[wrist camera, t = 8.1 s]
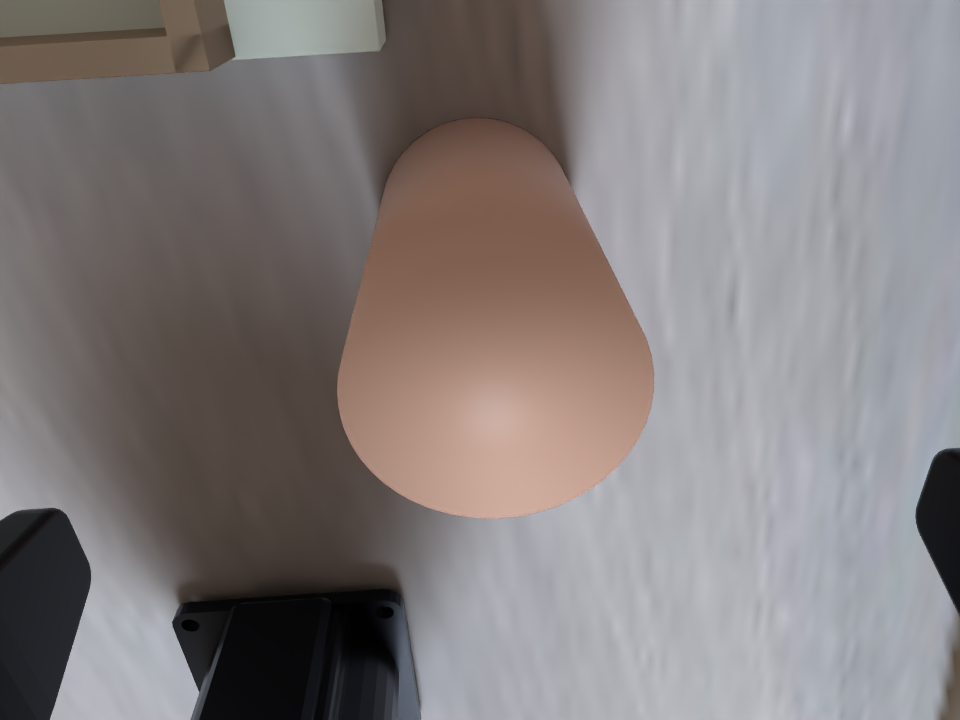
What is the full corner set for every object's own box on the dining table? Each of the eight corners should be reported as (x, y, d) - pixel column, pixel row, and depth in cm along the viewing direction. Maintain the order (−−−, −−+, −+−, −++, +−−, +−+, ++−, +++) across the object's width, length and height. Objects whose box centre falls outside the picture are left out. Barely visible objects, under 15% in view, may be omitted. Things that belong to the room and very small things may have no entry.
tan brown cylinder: (570, 295, 16) (643, 508, 10) (393, 306, 16) (361, 526, 10) (572, 111, 14) (666, 240, 8) (370, 124, 14) (311, 263, 8)
